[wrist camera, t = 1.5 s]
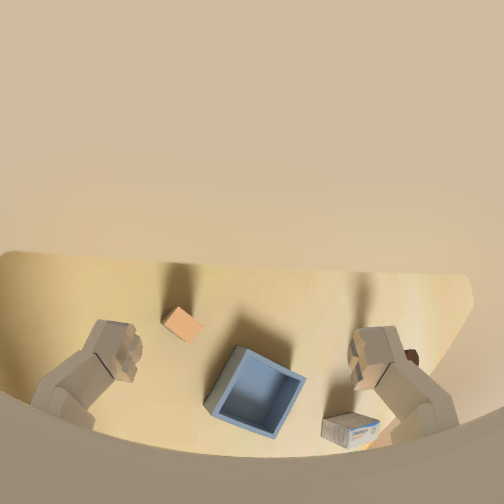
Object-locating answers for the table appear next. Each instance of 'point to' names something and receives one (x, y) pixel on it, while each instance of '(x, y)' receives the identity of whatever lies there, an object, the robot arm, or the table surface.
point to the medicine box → (350, 430)
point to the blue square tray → (254, 393)
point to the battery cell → (181, 324)
